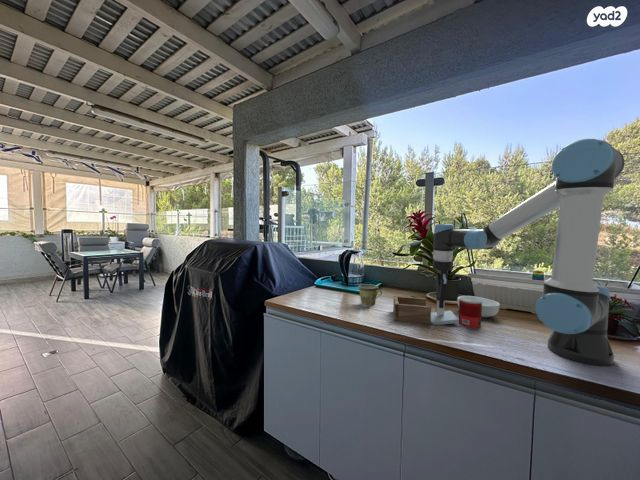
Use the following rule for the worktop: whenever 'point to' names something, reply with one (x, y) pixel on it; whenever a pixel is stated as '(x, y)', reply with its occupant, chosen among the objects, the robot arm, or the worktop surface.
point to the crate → (411, 310)
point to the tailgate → (444, 318)
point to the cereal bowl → (485, 306)
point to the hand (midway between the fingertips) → (440, 314)
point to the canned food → (470, 312)
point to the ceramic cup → (368, 294)
